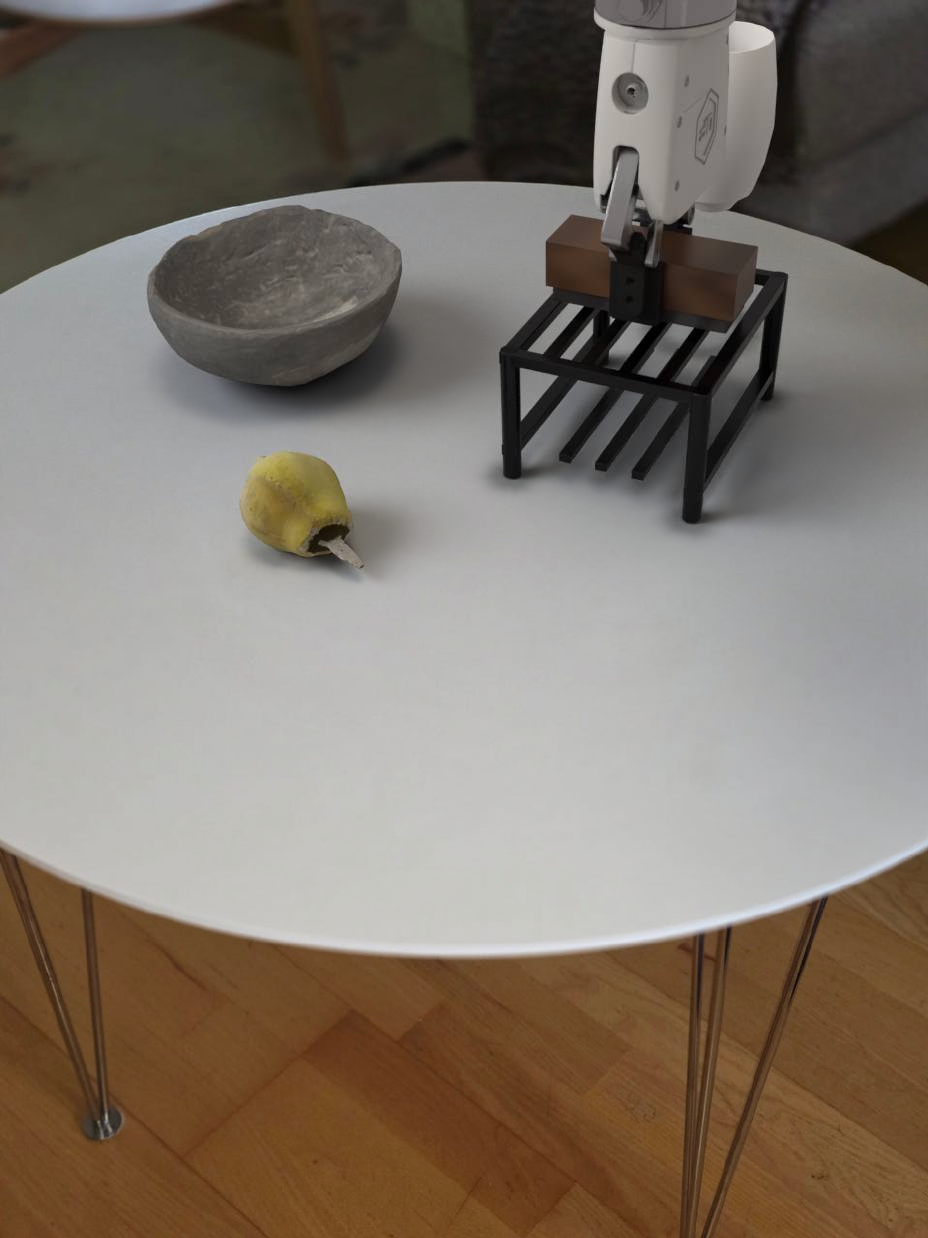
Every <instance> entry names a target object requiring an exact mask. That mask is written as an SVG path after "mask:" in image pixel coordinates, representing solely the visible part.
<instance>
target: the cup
mask: <svg viewBox="0 0 928 1238" xmlns="http://www.w3.org/2000/svg"><path fill="white" fill-rule="evenodd" d="M777 91H778V66H777V45H776V37H775V34H774V32H773V31H772V30H770V29H768V28H767V27H765V26H763V25H759V24H755V23H752V22H747V21H739V20H738V21H737V20H734V22H733V23H732V24H731V25H730V26H729V87H728V112H727V133H726V150H725V159H724V162H723V165H722V167H721V169H720V171H719V172H718V174H717V175H716V177H715V178H714V179H713V181H712V182H711V183H710V184H709V186H708V187H707V188H706V189H705V190H704V192H703V193H702V194H701V195H700V197H699V198H698V199H697V200H696V201H695V210H698V211H700V212H704V213H722V212H726V211H728V210H730V209H731V208H732V207H733V206H735V204H736V203H738V201H741V200H743V199H746V198H747V197H749V196H750V194H751V193H752V192H753V190H754V188H755V186H756V183H757V181H758V179H759V177H760V175H761V172H762V170H763V168H764V165H765V163H766V159H767V154H768V151H769V148H770V143H771V139H772V136H773V132H774V128H775V120H776V105H777Z"/></svg>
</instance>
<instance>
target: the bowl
mask: <svg viewBox="0 0 928 1238" xmlns="http://www.w3.org/2000/svg"><path fill="white" fill-rule="evenodd" d="M402 274H403V259H402V252H401V248H399V247H398V246H397V245H396V244H395V243H394V242H392V241H390V240H389V239H388V237H387V236H385V235H384V234H382V233H381V232H380V231H378V230H377V229H376V228H375V227H372V226H371V225H369V224H365V223H364V222H362V221H360V220H358V219H355V218H353V217H349V216H346V215H343V214H340V213H339V214H338V213H333V212H329V211H326V210H323V209H321V208H312V209H311V208H309V207H306V206H303V205H300V204H291V205H289V204H288V205H287V204H286V205H280V206H275V207H271V208H265V209H260V210H258V211H254V212H252V213H250V214H247V215H244V216H239V217H235V218H232V219H229V220H226V221H222V222H221V223H220V224H218V225H217V224H216V225H214V226H210V227H207V228H205V229H204V230H202V231H199V233H197V234H190V235H187V236H184V237H183V238H181V239H179V240H178V241H176V242H175V243H174V244H173V245H172V246H171V247H169V248H168V249H167V250H166V252H164V254H163V255H162V257H161V260H160V261H159V262H158V263H157V264H156V265H154V267H153V268H152V270H151V271H150V272H149V273H148V277H147V284H146V299H147V305H148V306H147V307H148V310H149V313H150V316H151V319H152V320H153V322H154V324H155V325H156V328H157V329H158V330H159V332H160V333H161V335H162V337H163V338H164V340H165V341H166V342H167V344H168V345H169V346H170V348H171V349H172V350H173V351H174V352H175V353H176V355H177V356H178V357H180V358H181V359H183V360H184V361H185V362H187V363H188V364H189V365H192V366H193V367H194V368H196V369H198V370H201V371H203V372H204V373H207V374H211V375H213V376H215V377H218V378H221V379H225V380H228V381H231V382H232V381H233V382H240V383H249V384H255V385H256V384H257V385H265V386H278V387H279V386H281V387H293V386H294V387H295V386H301V385H306V384H308V383H310V382H312V381H314V380H317V379H318V378H321V377H323V376H325V375H327V374H329V373H331V372H332V371H334V370H337V369H338V368H340V367H342V366H343V365H346V364H347V363H349V362H351V361H353V360H355V359H356V358H358V357H359V356H360V355H362V354H363V353H364V352H365V351H366V350H367V349H368V348H369V347H370V346H371V345H372V343H374V341H375V339H376V338H377V336H378V335H379V333H380V332H381V331H382V329H383V327H384V325H385V324H386V323H387V321H388V318H389V317H390V316H391V312H392V311H393V307H394V304H395V303H396V299H397V296H398V293H399V288H400V283H401V278H402Z"/></svg>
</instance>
